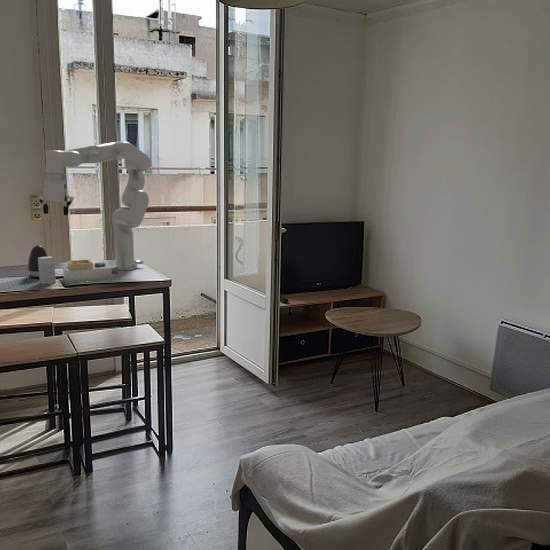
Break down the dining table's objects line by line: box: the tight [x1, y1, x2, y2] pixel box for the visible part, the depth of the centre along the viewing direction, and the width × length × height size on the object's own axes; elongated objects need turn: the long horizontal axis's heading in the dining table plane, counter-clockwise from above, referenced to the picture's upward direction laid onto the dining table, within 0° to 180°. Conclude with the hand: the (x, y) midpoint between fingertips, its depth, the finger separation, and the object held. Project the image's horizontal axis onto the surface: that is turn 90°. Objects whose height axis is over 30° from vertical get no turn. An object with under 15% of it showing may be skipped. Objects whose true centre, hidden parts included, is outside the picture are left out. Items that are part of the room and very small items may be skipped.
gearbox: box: [62, 259, 119, 284], centre depth 262 cm, size 24×14×8 cm, turn 117°
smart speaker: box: [27, 245, 49, 278], centre depth 263 cm, size 10×10×15 cm
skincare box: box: [38, 255, 57, 285], centre depth 250 cm, size 6×4×12 cm
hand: (55, 214), depth 256 cm, fingers open, 9 cm apart
